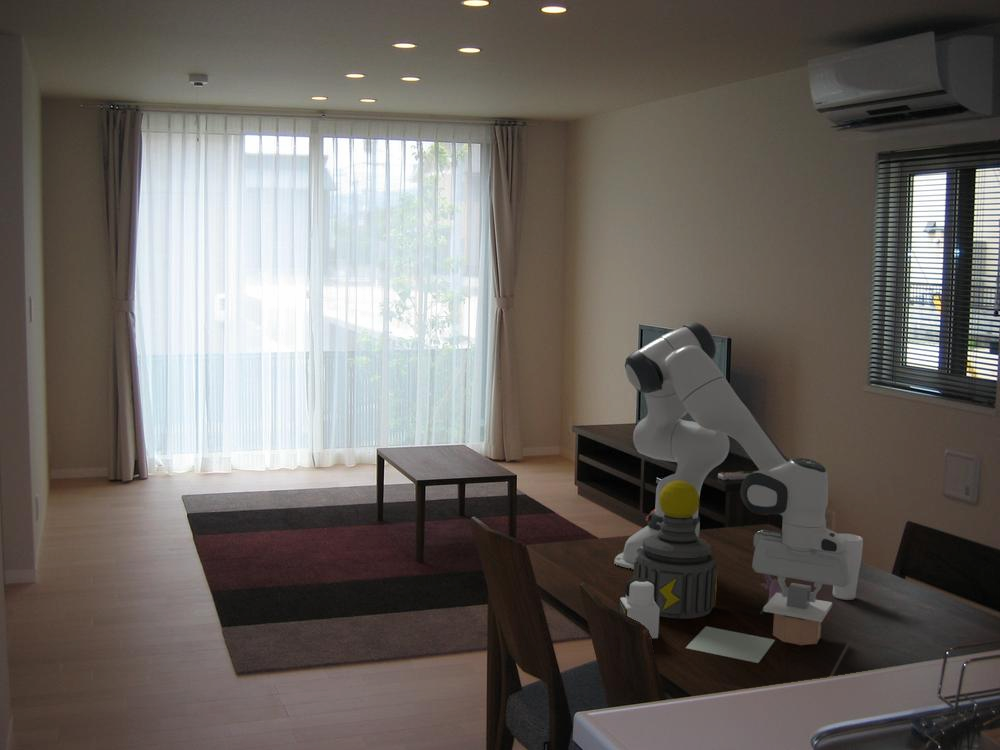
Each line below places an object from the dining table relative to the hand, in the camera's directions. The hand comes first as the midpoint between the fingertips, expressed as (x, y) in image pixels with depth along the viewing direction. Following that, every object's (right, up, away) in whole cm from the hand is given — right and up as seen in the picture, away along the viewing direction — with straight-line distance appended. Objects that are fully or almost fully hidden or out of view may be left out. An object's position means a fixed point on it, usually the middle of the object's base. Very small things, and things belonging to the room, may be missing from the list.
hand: (798, 599), depth 223 cm
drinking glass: (+20, -6, +31) cm, 37 cm away
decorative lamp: (-24, -6, +18) cm, 31 cm away
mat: (-16, -9, -5) cm, 18 cm away
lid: (0, -2, 0) cm, 2 cm away
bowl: (0, -9, +1) cm, 9 cm away
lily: (0, -7, +18) cm, 19 cm away
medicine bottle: (-34, -8, 0) cm, 35 cm away
